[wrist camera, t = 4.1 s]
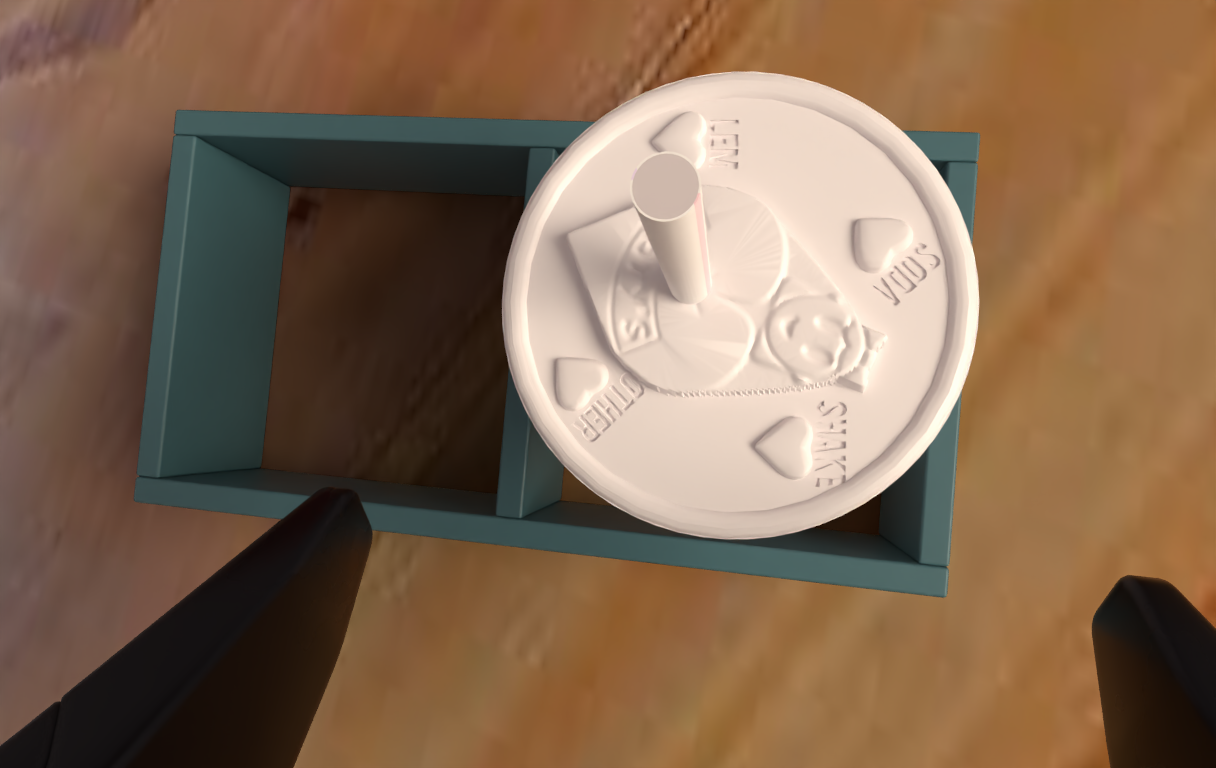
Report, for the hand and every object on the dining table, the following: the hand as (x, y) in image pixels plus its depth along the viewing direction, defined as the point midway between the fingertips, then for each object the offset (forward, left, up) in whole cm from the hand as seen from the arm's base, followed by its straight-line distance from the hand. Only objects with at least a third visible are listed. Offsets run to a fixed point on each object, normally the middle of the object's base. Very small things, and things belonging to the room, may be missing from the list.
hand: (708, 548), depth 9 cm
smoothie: (+2, -2, -11) cm, 11 cm away
